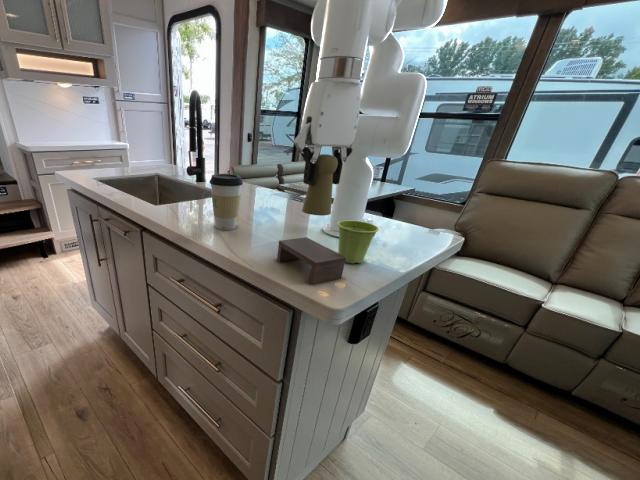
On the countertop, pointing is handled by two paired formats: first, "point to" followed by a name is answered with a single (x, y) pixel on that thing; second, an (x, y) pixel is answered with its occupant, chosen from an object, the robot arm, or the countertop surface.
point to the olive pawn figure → (321, 187)
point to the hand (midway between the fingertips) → (321, 182)
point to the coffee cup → (225, 199)
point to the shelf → (313, 258)
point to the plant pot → (355, 239)
